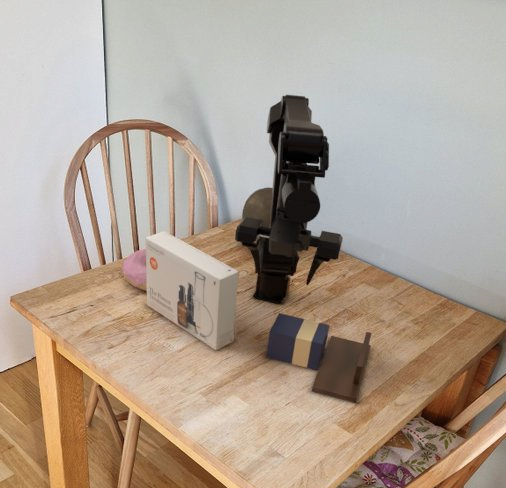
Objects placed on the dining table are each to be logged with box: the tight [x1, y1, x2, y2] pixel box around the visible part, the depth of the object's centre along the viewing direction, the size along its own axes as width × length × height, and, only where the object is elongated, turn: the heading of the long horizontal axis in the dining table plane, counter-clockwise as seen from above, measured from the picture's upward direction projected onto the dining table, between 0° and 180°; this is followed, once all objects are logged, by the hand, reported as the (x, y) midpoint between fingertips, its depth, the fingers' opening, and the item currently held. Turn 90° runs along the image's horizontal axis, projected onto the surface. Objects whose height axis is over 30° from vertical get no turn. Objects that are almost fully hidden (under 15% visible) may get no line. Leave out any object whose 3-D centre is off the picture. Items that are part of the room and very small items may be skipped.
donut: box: [121, 248, 147, 292], centre depth 136 cm, size 16×15×5 cm
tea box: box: [265, 312, 331, 371], centre depth 117 cm, size 10×7×6 cm
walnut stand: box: [311, 331, 372, 404], centre depth 114 cm, size 8×18×5 cm, turn 163°
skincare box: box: [145, 230, 240, 351], centre depth 119 cm, size 21×5×16 cm, turn 47°
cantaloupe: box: [241, 186, 273, 228], centre depth 154 cm, size 14×14×15 cm
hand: (283, 279), depth 115 cm, fingers open, 9 cm apart
